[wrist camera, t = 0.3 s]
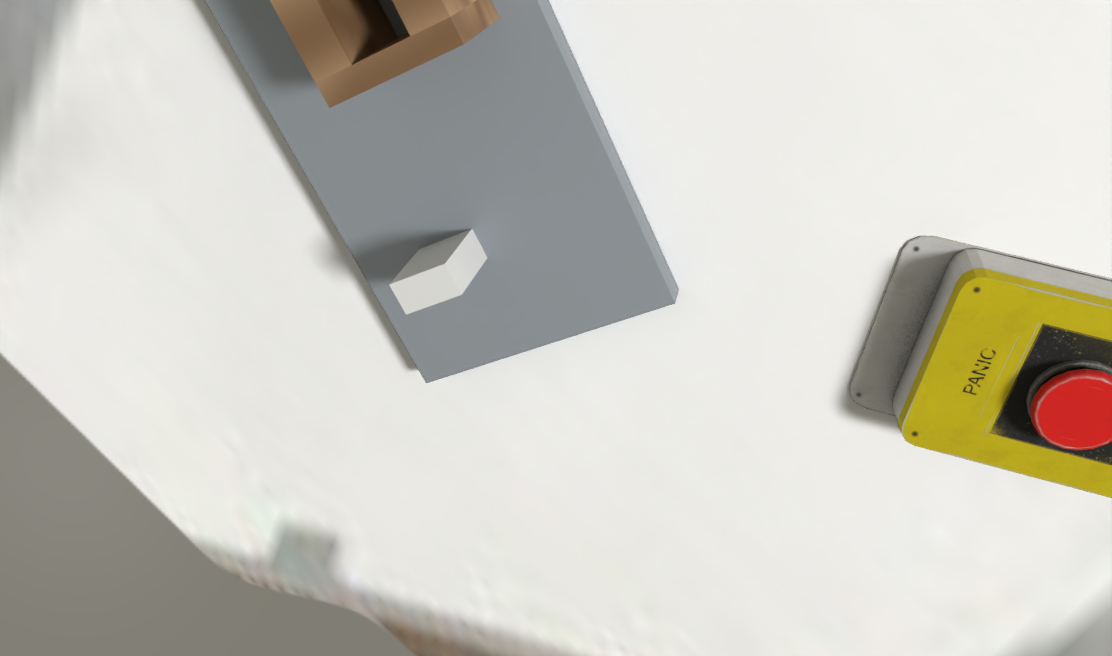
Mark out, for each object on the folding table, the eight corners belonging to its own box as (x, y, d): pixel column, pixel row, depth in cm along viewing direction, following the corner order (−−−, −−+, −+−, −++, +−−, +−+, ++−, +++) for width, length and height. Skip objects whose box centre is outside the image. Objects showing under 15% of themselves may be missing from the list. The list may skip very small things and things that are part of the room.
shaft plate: (184, -72, 44) (109, -55, 39) (445, -230, 39) (393, -233, 34) (435, 368, 52) (398, 425, 48) (678, 289, 47) (663, 344, 42)
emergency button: (1188, 538, 43) (845, 446, 44) (1158, 478, 46) (843, 395, 48) (1305, 361, 38) (917, 266, 40) (1261, 310, 42) (908, 225, 43)
